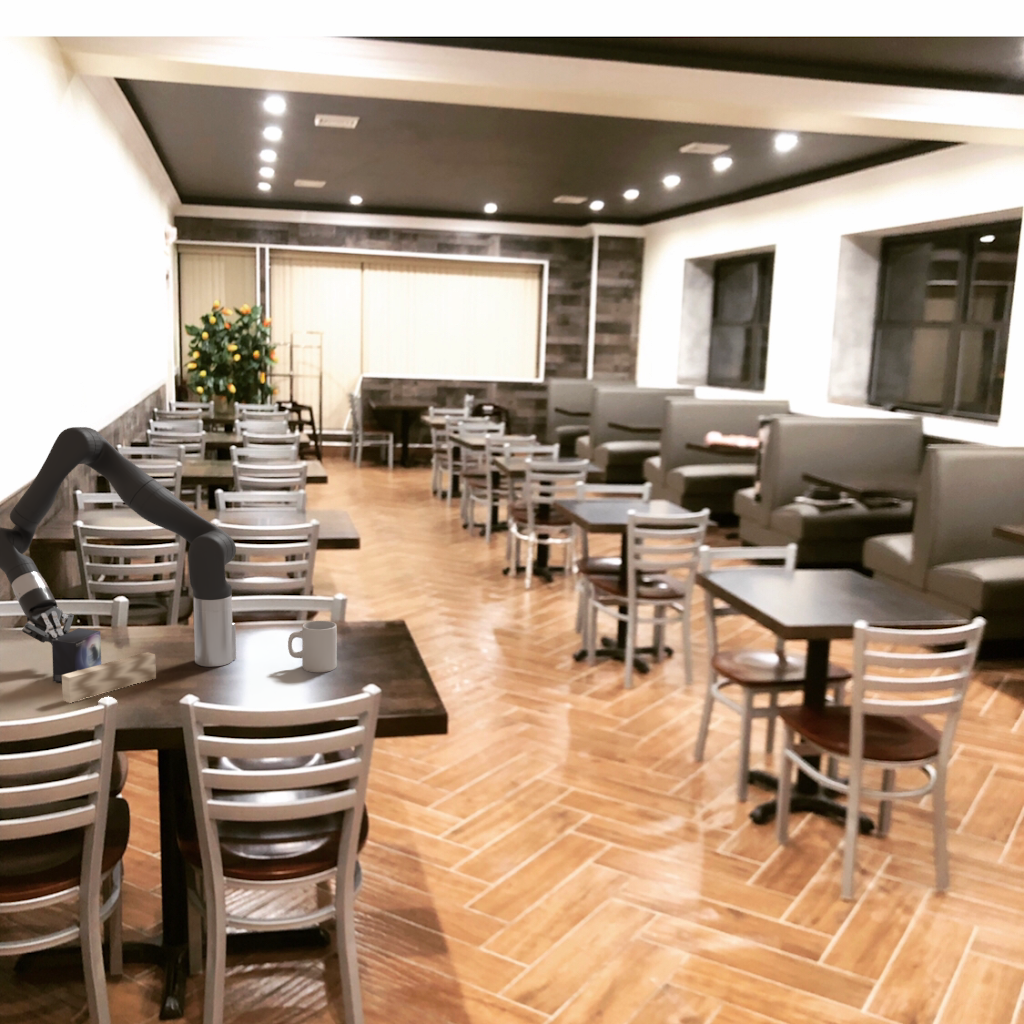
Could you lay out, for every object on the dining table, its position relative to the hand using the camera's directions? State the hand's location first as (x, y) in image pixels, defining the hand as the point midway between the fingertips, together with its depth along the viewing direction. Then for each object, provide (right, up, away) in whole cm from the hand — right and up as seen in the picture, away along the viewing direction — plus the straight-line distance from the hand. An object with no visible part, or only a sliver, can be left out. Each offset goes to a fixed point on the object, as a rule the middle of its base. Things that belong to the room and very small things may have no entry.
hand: (63, 652), depth 244 cm
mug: (+59, -5, +9) cm, 60 cm away
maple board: (+16, -7, -10) cm, 20 cm away
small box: (+5, -6, -3) cm, 8 cm away
